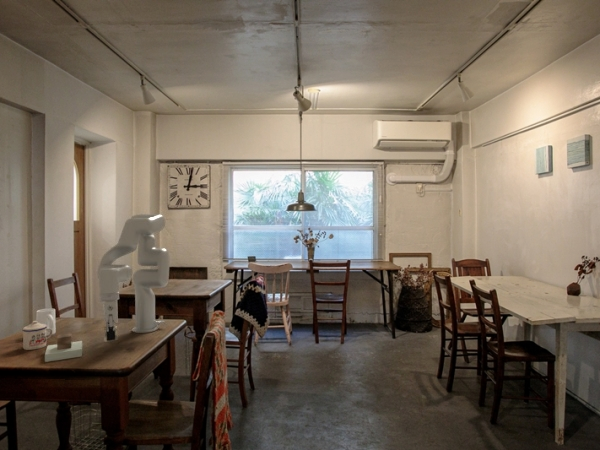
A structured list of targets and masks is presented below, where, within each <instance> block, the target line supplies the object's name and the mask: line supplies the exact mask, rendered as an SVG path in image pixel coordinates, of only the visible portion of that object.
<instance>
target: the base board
mask: <svg viewBox="0 0 600 450" xmlns="http://www.w3.org/2000/svg"><path fill="white" fill-rule="evenodd" d="M46 346H47V347H46V350H45V353H44V363H48V362H53V361H54V362H55V361H60V360H66V359H73V358H79V357H83V340H78V341H72V346H71V348H68V349H61V350H57V343H56V344H48V345H46Z"/></svg>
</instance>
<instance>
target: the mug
mask: <svg viewBox="0 0 600 450" xmlns="http://www.w3.org/2000/svg"><path fill="white" fill-rule="evenodd" d="M35 313H36V314H35V315H36V318H35V321H37V323H40V324H45V325H46V326H47V328H51V329H52V330H53V333H52V335H55V334H56V330H57V329H56V327H57V326H56V309H55V308H50V307H49V308H42V309H38V310H36V312H35ZM49 334H50V330H49V329H48V330H46V337H48V336H49Z"/></svg>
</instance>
